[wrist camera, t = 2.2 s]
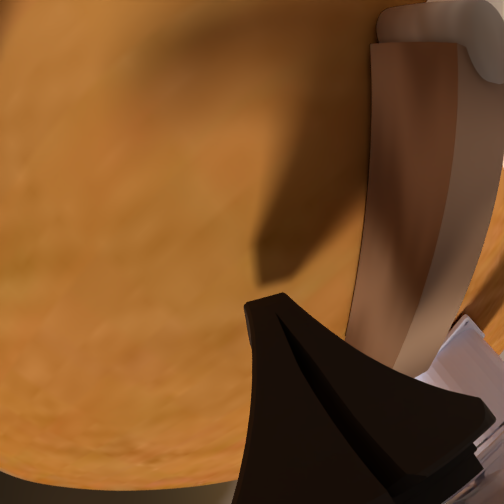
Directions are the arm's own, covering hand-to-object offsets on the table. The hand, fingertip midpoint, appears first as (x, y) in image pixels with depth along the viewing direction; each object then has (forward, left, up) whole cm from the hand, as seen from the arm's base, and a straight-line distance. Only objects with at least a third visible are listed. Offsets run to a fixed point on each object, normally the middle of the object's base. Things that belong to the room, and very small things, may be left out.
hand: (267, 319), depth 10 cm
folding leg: (-3, -6, -1) cm, 7 cm away
